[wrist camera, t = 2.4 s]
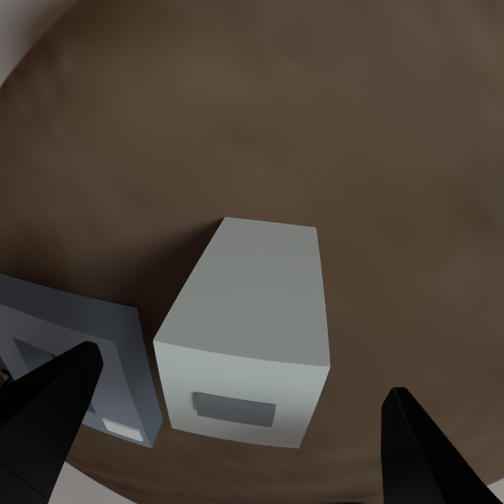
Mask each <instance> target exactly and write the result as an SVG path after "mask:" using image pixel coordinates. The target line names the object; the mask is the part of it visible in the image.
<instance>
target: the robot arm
mask: <svg viewBox="0 0 504 504" xmlns="http://www.w3.org/2000/svg"><path fill="white" fill-rule="evenodd" d="M103 365H104V362H103V358H102V355H101V352H100V349H99V346H98V345H97V344H96V343H94V342H91V341H84V342H82V343H80V344H78V345H77V346H75V347H73V348H71V349H69V350H68V351H66V352H64V353H62V354H61V355H59V356H57V357H55V358H53V359H52V360H50V361H48V362H46V363H45V364H43V365H41V366H39V367H38V368H36V369H34V370H32V371H31V372H29V373H27V374H25V375H23V376H22V377H20V378H18V379H16V380H14V379H13V377H12V375H11V374H10V373H8V372H6V371H4V370H1V372H0V373H1V375H2V376H3V378H4V379H5V382H4V383H3V385H2V386H1V387H0V504H48V502H49V499H50V497H51V494H52V491H53V489H54V486H55V484H56V481H57V479H58V476H59V474H60V471H61V469H62V466H63V464H64V462H65V459H66V457H67V455H68V452H69V450H70V448H71V445H72V443H73V441H74V439H75V436H76V434H77V432H78V430H79V427H80V425H81V423H82V421H83V419H84V417H85V414H86V412H87V410H88V408H89V406H90V403H91V400H92V397H93V394H94V392H95V389H96V386H97V383H98V380H99V377H100V375H101V372H102V369H103ZM381 462H382V476H383V494H384V504H503V503H502V502H501V501H500V500H499V499H498V498H497V497H496V496H495V495H494V494H493V493H492V492H491V491H490V489H489V488H488V487H487V486H486V485H485V484H484V483H483V482H482V481H481V479H480V478H479V477H478V476H477V474H476V473H475V472H474V471H473V469H472V468H471V467H470V466H468V463H467V462H466V461H465V459H464V458H463V457H462V456H461V454H460V453H459V452H458V451H457V449H456V448H455V447H454V446H453V444H452V443H451V442H450V441H449V439H448V438H447V437H446V436H445V434H444V433H443V432H442V431H441V430H440V428H439V427H438V426H437V425H436V423H435V422H434V421H433V420H432V419H431V417H430V416H429V415H428V414H427V412H426V411H425V410H424V409H423V408H422V406H421V405H420V404H419V403H418V402H417V400H416V399H415V398H414V397H413V396H412V394H411V393H410V392H409V391H408V390H407V389H406V388H405V387H393V388H392V389H391V390H390V392H389V394H388V396H387V397H386V399H385V401H384V402H383V405H382V409H381Z"/></svg>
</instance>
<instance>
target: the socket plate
mask: <svg viewBox="0 0 504 504" xmlns="http://www.w3.org/2000/svg"><path fill="white" fill-rule="evenodd" d="M84 341H91V342H94V343H96V344H97V345H98V346H99V349H100V352H101V355H102V358H103V362H104V365H103V369H102V372H101V375H100V377H99V380H98V383H97V386H96V389H95V392H94V394H93V397H92V400H91V403H90V406H89V408H88V410H87V412H86V414H85V417H84V419H83V421H82V424H85V425H87V426H90V427H92V428H95V429H97V430H100V431H102V432H105V433H108V434H110V435H113V436H116V437H119V438H122V439H124V440H127V441H130V442H133V443H137V444H140V445H143V446H146V447H150V448H152V447H153V444H154V442H155V439H156V437H157V434H158V431H159V429H160V426H161V424H162V421H163V418H162V414H161V411H160V407H159V403H158V400H157V396H156V392H155V388H154V384H153V380H152V376H151V372H150V367H149V363H148V358H147V354H146V349H145V344H144V339H143V334H142V329H141V324H140V319H139V313H138V308H135V307H130V306H125V305H120V304H116V303H111V302H107V301H103V300H98V299H94V298H90V297H85V296H81V295H77V294H73V293H69V292H65V291H61V290H58V289H54V288H50V287H46V286H43V285H39V284H35V283H32V282H28V281H25V280H21V279H18V278H14V277H11V276H8V275H4V274H1V273H0V356H1V358H2V360H3V362H4V363H5V365H6V367H7V369H8V370H9V372H10V374H11V375H12V377H13V379H14V380H16V379H18V378H20V377H22V376H23V375H25V374H27V373H29V372H31V371H32V370H34V369H36V368H38V367H39V366H41V365H43V364H45V363H46V362H48V361H50V360H52V359H53V357H52V355H51V354H54V355H56V356H59V355H61V354H62V353H64V352H66V351H68V350H69V349H71V348H73V347H75V346H77V345H78V344H80V343H82V342H84Z"/></svg>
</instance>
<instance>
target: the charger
mask: <svg viewBox="0 0 504 504" xmlns="http://www.w3.org/2000/svg"><path fill="white" fill-rule="evenodd" d="M153 344H154V349H155V354H156V360H157V365H158V369H159V374H160V379H161V384H162V388H163V393H164V397H165V401H166V405H167V410H168V414H169V418H170V422H171V425H172V428H174V429H178V430H182V431H187V432H191V433H196V434H200V435H205V436H210V437H216V438H221V439H227V440H233V441H239V442H245V443H253V444H260V445H268V446H278V447H288V448H299V446H300V444H301V441H302V439H303V436H304V434H305V432H306V429H307V427H308V424H309V422H310V420H311V417H312V415H313V412H314V409H315V407H316V404H317V402H318V399H319V396H320V394H321V391H322V388H323V386H324V383H325V380H326V377H327V375H328V372H329V369H330V357H329V344H328V331H327V320H326V309H325V299H324V290H323V281H322V272H321V263H320V255H319V247H318V240H317V232H316V228H315V227H307V226H299V225H291V224H282V223H274V222H265V221H256V220H247V219H238V218H229V217H225V218H224V220H223V221H222V223H221V224H220V226H219V228H218V229H217V231H216V233H215V234H214V236H213V238H212V239H211V241H210V243H209V244H208V246H207V248H206V249H205V251H204V253H203V254H202V256H201V258H200V259H199V261H198V263H197V264H196V266H195V268H194V269H193V271H192V273H191V275H190V276H189V278H188V280H187V281H186V283H185V285H184V287H183V288H182V290H181V292H180V293H179V295H178V297H177V299H176V300H175V302H174V304H173V306H172V307H171V309H170V311H169V313H168V314H167V316H166V318H165V320H164V322H163V323H162V325H161V327H160V329H159V330H158V332H157V334H156V336H155V338H154V339H153Z"/></svg>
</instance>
